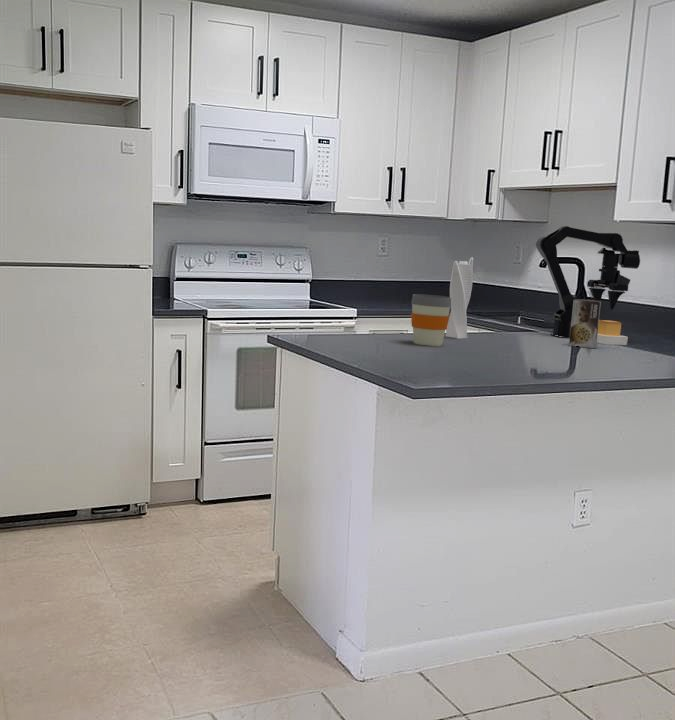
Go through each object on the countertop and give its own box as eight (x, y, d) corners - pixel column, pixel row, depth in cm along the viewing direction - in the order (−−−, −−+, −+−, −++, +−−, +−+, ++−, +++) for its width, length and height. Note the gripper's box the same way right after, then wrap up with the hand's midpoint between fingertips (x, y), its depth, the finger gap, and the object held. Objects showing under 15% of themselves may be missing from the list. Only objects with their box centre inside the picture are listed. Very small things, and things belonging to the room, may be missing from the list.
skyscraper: (473, 339, 294) (481, 257, 290) (459, 340, 288) (467, 257, 284) (453, 336, 299) (460, 256, 295) (439, 337, 294) (447, 255, 290)
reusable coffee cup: (421, 346, 261) (426, 297, 259) (400, 340, 272) (404, 293, 270) (455, 346, 267) (460, 298, 265) (433, 341, 278) (437, 294, 275)
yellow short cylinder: (606, 335, 310) (607, 321, 310) (596, 333, 316) (597, 319, 315) (619, 336, 312) (621, 322, 312) (609, 333, 318) (611, 320, 317)
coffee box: (596, 347, 297) (601, 300, 295) (595, 348, 291) (601, 301, 289) (569, 344, 300) (574, 298, 298) (568, 345, 294) (573, 299, 292)
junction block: (604, 344, 308) (606, 325, 307) (587, 340, 318) (589, 322, 317) (626, 345, 312) (629, 326, 311) (609, 341, 321) (611, 323, 320)
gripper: (643, 269, 314) (637, 311, 316) (614, 266, 332) (609, 306, 334) (617, 267, 311) (611, 310, 313) (588, 264, 329) (584, 305, 331)
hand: (604, 308), depth 323 cm, fingers open, 9 cm apart
